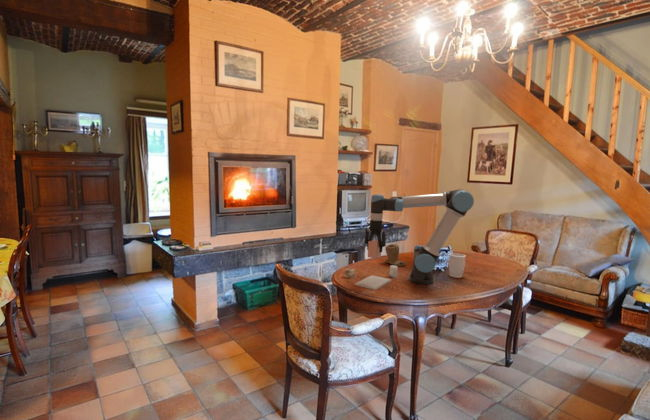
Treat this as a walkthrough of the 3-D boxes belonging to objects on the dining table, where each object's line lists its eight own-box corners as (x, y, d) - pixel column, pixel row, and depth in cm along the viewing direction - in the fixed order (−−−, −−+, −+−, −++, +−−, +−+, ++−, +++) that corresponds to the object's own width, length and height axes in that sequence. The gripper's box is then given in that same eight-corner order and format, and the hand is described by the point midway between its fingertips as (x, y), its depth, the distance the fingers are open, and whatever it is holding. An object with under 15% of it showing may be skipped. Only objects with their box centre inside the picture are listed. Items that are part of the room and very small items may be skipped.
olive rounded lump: (354, 276, 239) (355, 269, 239) (350, 278, 235) (351, 271, 235) (348, 275, 242) (348, 268, 241) (344, 277, 238) (344, 269, 237)
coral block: (380, 256, 227) (381, 241, 226) (376, 258, 222) (377, 242, 221) (372, 255, 231) (373, 239, 229) (367, 257, 226) (368, 241, 224)
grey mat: (391, 281, 233) (391, 279, 232) (375, 290, 215) (375, 288, 215) (371, 276, 241) (371, 275, 240) (354, 285, 223) (354, 283, 222)
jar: (464, 275, 250) (466, 254, 248) (463, 279, 241) (465, 257, 239) (448, 273, 254) (450, 252, 252) (446, 276, 245) (448, 255, 243)
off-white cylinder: (398, 276, 243) (398, 266, 242) (395, 278, 239) (395, 267, 238) (391, 274, 246) (391, 264, 245) (388, 276, 242) (388, 266, 241)
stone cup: (381, 263, 275) (382, 243, 273) (392, 261, 282) (393, 242, 280) (395, 268, 263) (396, 247, 261) (407, 266, 269) (408, 246, 267)
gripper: (393, 220, 221) (390, 257, 224) (365, 217, 232) (364, 252, 235) (387, 222, 215) (385, 260, 218) (359, 218, 226) (358, 254, 229)
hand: (374, 256), depth 226 cm, fingers closed on coral block, 6 cm apart
